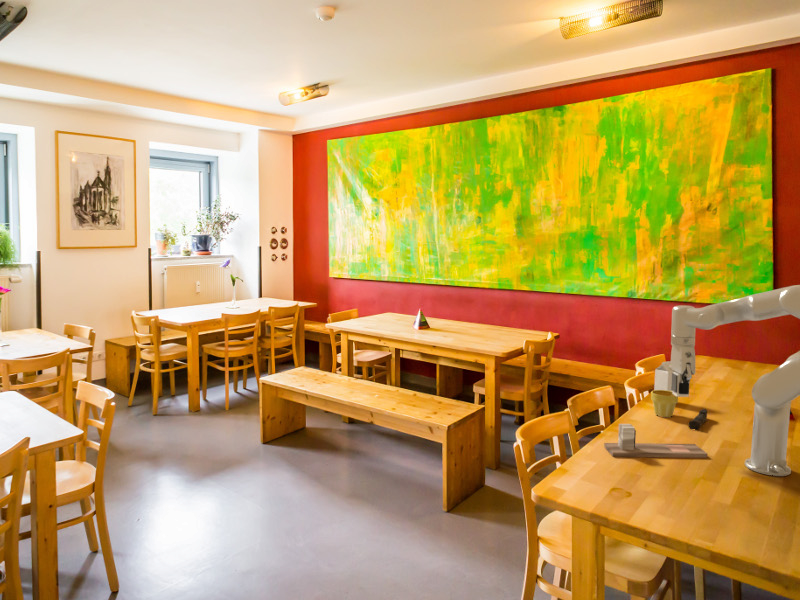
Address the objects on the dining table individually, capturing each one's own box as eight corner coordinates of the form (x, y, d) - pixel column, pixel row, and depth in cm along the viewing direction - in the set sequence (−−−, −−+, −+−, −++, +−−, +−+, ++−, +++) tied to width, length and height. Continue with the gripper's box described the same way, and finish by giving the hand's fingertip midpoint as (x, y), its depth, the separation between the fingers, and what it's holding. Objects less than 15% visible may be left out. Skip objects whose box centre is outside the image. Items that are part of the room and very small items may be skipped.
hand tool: (699, 431, 218) (699, 420, 217) (688, 429, 220) (688, 417, 220) (712, 420, 231) (713, 409, 231) (701, 418, 234) (702, 407, 233)
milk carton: (653, 401, 257) (655, 360, 255) (664, 399, 260) (666, 359, 258) (666, 405, 251) (668, 363, 249) (677, 403, 254) (679, 362, 252)
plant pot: (656, 409, 244) (657, 388, 243) (681, 415, 237) (682, 393, 236) (645, 414, 238) (646, 392, 236) (670, 420, 230) (671, 397, 229)
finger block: (688, 396, 195) (689, 374, 194) (675, 396, 195) (676, 374, 195) (684, 393, 199) (684, 371, 198) (670, 393, 199) (671, 371, 199)
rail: (707, 457, 191) (708, 431, 190) (612, 456, 192) (613, 430, 191) (694, 448, 200) (695, 422, 199) (604, 446, 201) (605, 421, 200)
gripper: (705, 345, 187) (702, 398, 188) (683, 336, 203) (681, 386, 205) (681, 345, 187) (679, 398, 189) (662, 336, 204) (660, 386, 206)
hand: (680, 391), depth 197 cm, fingers closed on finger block, 4 cm apart
